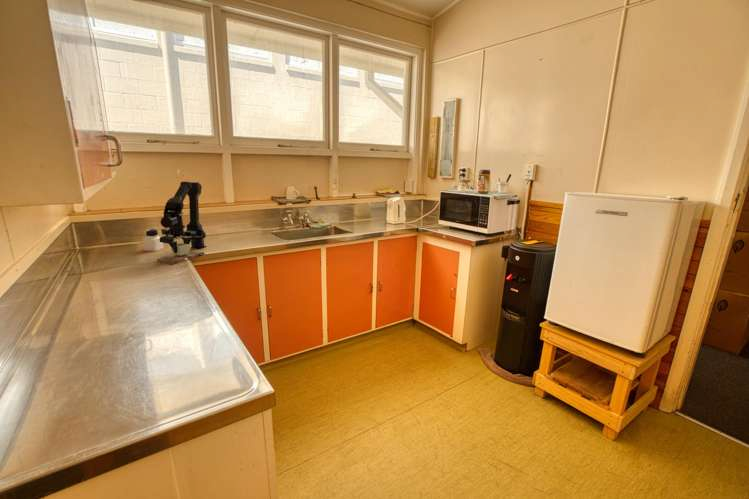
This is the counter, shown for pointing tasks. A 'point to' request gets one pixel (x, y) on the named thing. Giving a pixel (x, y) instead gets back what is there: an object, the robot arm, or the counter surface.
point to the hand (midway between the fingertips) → (180, 251)
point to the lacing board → (179, 257)
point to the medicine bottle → (152, 241)
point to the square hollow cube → (182, 249)
